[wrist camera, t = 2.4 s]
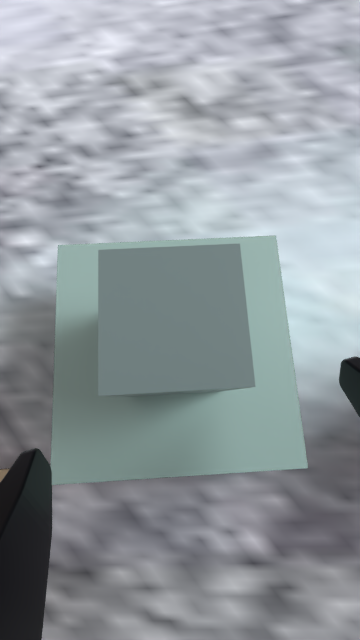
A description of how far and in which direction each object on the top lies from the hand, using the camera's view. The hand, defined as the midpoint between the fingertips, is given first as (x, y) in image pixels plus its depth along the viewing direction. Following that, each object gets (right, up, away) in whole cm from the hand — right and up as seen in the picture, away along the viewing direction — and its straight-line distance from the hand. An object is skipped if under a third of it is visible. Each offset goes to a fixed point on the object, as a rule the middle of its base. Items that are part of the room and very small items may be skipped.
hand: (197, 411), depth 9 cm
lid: (-1, +1, +8) cm, 8 cm away
